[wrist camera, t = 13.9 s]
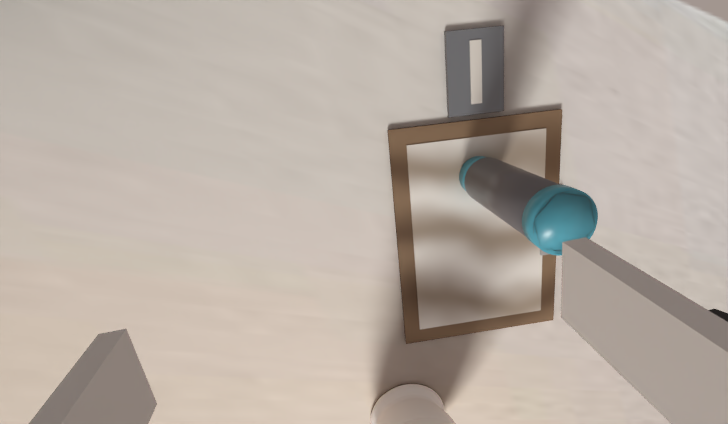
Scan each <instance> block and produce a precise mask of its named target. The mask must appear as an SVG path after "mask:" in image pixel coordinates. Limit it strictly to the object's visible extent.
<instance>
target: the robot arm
mask: <svg viewBox="0 0 728 424" xmlns="http://www.w3.org/2000/svg"><path fill="white" fill-rule="evenodd" d="M561 318H562V319H563V320H564V321H565V322H566V323H567V324H568V325H570V326H571V327H572V328H573V329H574V330H575V331H576V332H577V333H578V334H579V335H580V336H581V337H582V338H583V339H584V340H585V341H586V342H587V343H588V344H589V345H590V346H591V347H592V348H593V349H594V350H595V351H596V352H597V353H599V354H600V355H601V356H602V357H603V358H604V359H605V360H606V361H607V362H608V363H609V364H610V365H611V366H612V367H613V368H614V369H615V370H616V371H617V372H618V373H619V374H620V375H621V376H622V377H623V378H624V379H625V380H626V381H628V382H629V383H630V384H631V385H632V386H633V387H634V388H635V389H636V390H637V391H638V392H639V393H640V394H641V395H642V396H643V397H644V398H645V399H646V400H647V401H648V402H649V403H650V404H651V405H652V406H653V407H654V408H655V409H657V410H658V411H659V412H660V413H661V414H662V415H663V416H664V417H665V418H666V419H667V420H668V421H669V422H670V423H671V424H728V313H725V312H722V311H719V310H717V309H712V310H707V309H705V308H703V307H702V306H700V305H698V304H697V303H695V302H693V301H692V300H690V299H688V298H687V297H685V296H683V295H682V294H680V293H678V292H677V291H675V290H673V289H672V288H670V287H668V286H667V285H665V284H663V283H662V282H660V281H658V280H656V279H655V278H653V277H651V276H650V275H648V274H646V273H645V272H643V271H641V270H640V269H638V268H636V267H635V266H633V265H631V264H630V263H628V262H626V261H625V260H623V259H621V258H620V257H618V256H616V255H615V254H613V253H611V252H610V251H608V250H606V249H604V248H603V247H601V246H599V245H598V244H596V243H594V242H593V241H591V240H589V239H588V238H586V237H585V238H580V239H575V240H570V241H565V242H562V287H561ZM156 405H157V403H156V400H155V398H154V395H153V393H152V390H151V388H150V385H149V383H148V381H147V378H146V376H145V373H144V371H143V368H142V366H141V364H140V361H139V359H138V356H137V354H136V351H135V349H134V346H133V344H132V342H131V339H130V337H129V334H128V332H127V329H123V330H118V331H113V332H108V333H102V334H98V335H97V337H96V338H95V339H94V341H93V342H92V343H91V344H90V346H89V347H88V348H87V350H86V351H85V352H84V353H83V355H82V356H81V357H80V359H79V360H78V361H77V363H76V364H75V365H74V366H73V368H72V369H71V370H70V372H69V373H68V374H67V375H66V377H65V378H64V379H63V381H62V382H61V383H60V384H59V386H58V387H57V388H56V390H55V391H54V392H53V393H52V395H51V396H50V397H49V399H48V400H47V401H46V402H45V404H44V405H43V406H42V408H41V409H40V410H39V411H38V413H37V414H36V415H35V417H34V418H33V419H32V420H31V422H30V423H29V424H148V423H149V421H150V418H151V416H152V414H153V412H154V409H155V407H156Z"/></svg>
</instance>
